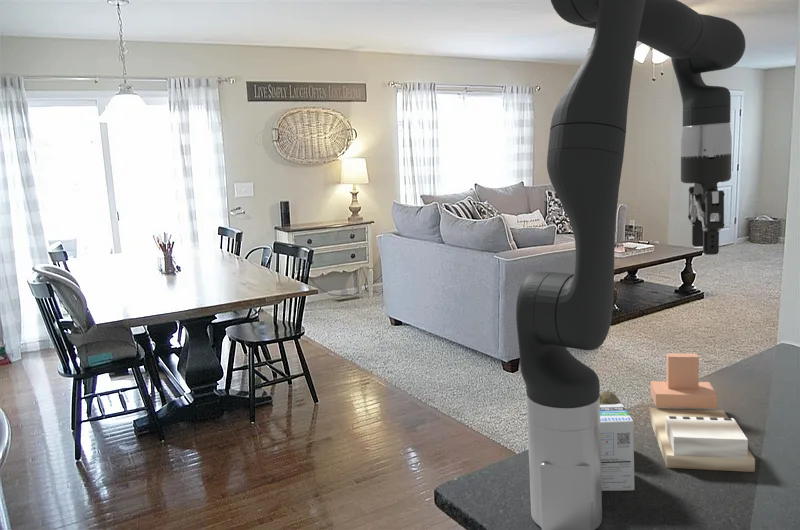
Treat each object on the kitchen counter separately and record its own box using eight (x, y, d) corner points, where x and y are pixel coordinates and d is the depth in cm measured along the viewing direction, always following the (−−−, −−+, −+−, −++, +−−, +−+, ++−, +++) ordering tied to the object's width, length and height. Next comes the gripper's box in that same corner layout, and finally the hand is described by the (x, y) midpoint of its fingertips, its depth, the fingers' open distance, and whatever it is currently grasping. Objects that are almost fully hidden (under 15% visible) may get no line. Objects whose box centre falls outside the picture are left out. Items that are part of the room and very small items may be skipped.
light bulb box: (624, 468, 95) (623, 401, 93) (636, 492, 88) (635, 420, 86) (552, 469, 96) (550, 403, 94) (559, 493, 89) (557, 422, 87)
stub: (717, 408, 108) (718, 362, 106) (655, 406, 110) (655, 361, 109) (708, 394, 114) (709, 350, 112) (650, 393, 116) (650, 350, 115)
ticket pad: (754, 471, 91) (755, 439, 90) (666, 467, 94) (666, 435, 93) (722, 420, 108) (723, 392, 107) (649, 418, 111) (649, 391, 110)
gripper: (673, 154, 110) (673, 244, 113) (690, 155, 96) (689, 257, 99) (719, 151, 108) (718, 243, 111) (743, 151, 95) (741, 256, 97)
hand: (704, 250), depth 105 cm, fingers open, 8 cm apart
